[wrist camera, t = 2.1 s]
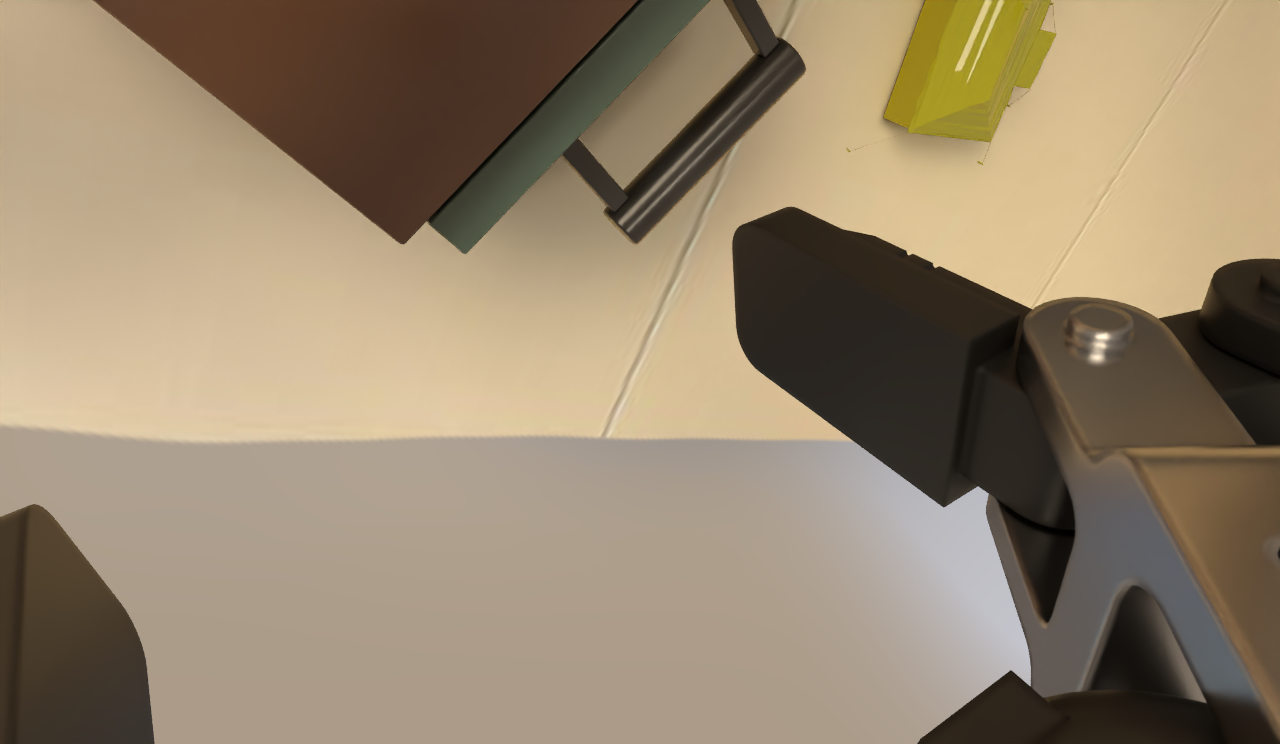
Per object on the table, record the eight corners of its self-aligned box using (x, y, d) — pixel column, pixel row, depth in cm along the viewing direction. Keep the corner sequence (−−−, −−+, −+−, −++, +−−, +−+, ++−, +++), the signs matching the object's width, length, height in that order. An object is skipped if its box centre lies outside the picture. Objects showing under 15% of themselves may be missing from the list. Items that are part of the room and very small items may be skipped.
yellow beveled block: (936, -119, 29) (998, -112, 27) (1080, -67, 34) (1142, -58, 32) (845, 150, 34) (891, 173, 32) (982, 163, 39) (1030, 184, 37)
